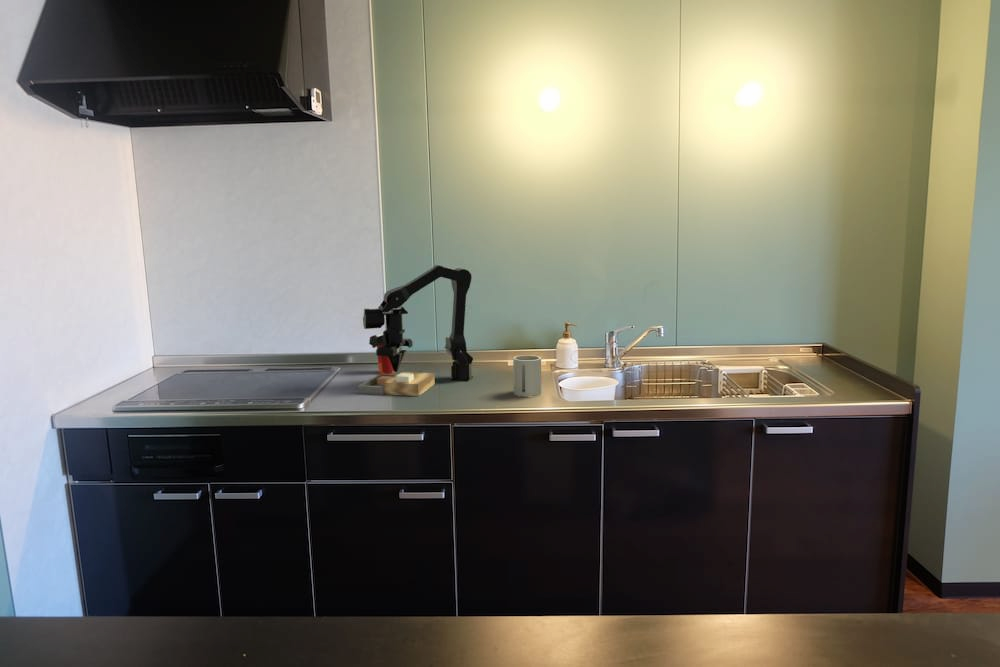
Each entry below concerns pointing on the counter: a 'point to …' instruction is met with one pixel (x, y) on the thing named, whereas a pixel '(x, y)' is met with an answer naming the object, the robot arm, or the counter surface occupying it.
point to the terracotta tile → (382, 380)
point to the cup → (527, 375)
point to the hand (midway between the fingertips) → (395, 371)
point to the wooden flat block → (410, 384)
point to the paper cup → (384, 364)
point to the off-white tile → (404, 377)
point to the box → (372, 386)
